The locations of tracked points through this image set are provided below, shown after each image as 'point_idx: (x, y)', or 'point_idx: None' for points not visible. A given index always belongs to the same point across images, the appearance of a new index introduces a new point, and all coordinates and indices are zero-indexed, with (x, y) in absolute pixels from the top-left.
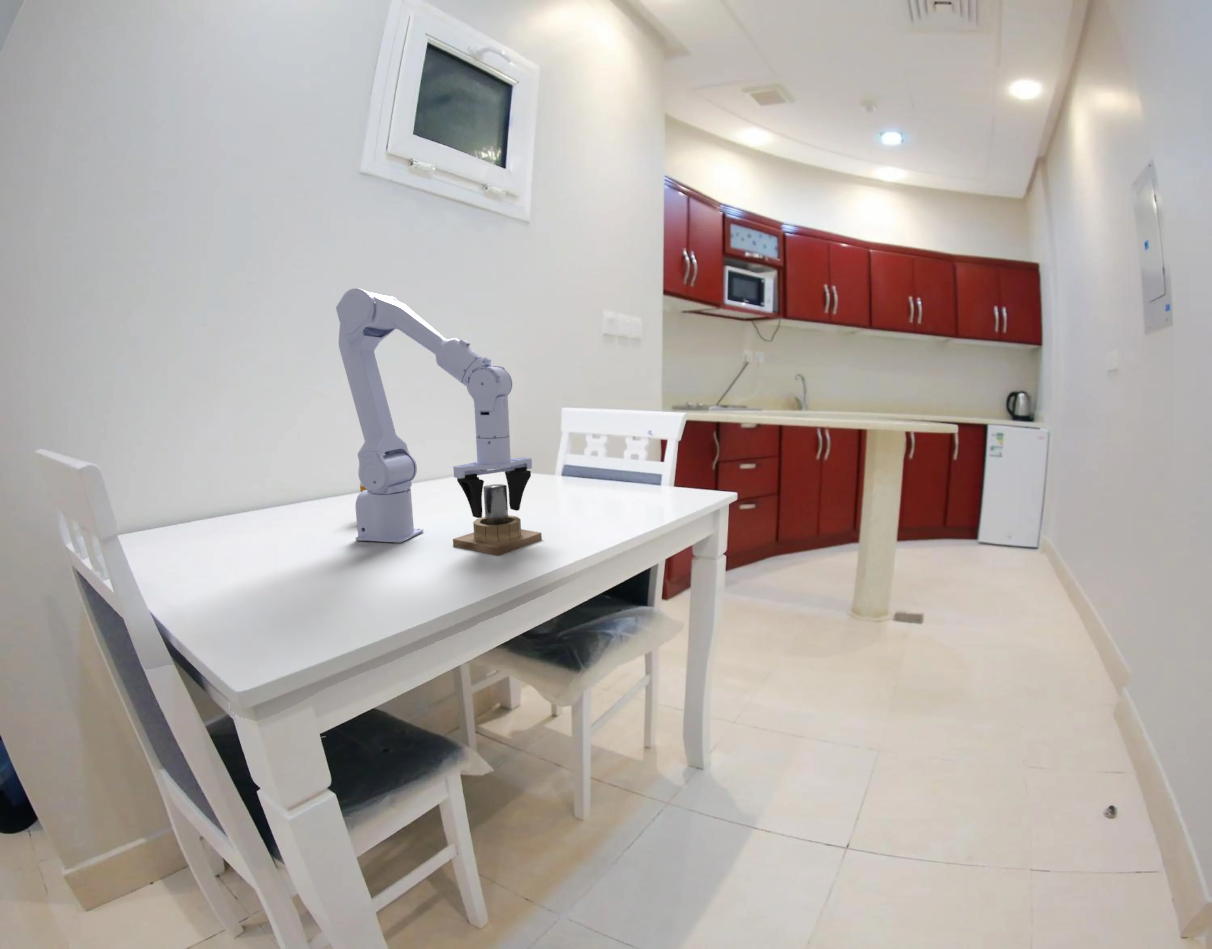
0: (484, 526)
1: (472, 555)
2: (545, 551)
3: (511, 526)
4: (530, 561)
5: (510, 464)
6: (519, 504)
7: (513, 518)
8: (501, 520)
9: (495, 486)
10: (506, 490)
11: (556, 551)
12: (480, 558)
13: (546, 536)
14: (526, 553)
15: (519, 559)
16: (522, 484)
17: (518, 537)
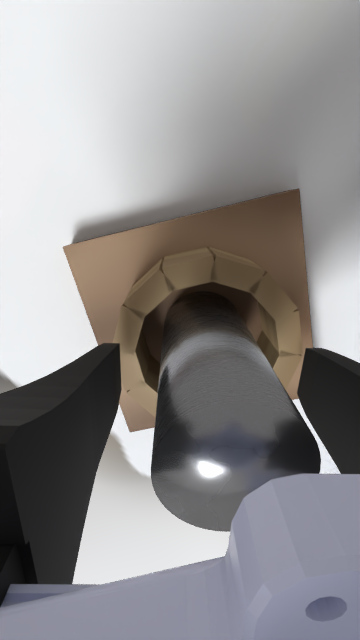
0: (298, 312)
1: (338, 260)
2: (145, 94)
3: (203, 255)
4: (264, 22)
5: (271, 556)
6: (98, 348)
7: (139, 334)
8: (218, 313)
9: (236, 467)
10: (175, 403)
11: (113, 55)
12: (346, 211)
13: (38, 261)
14: (211, 133)
15: (274, 86)
16: (36, 395)
17: (163, 258)
